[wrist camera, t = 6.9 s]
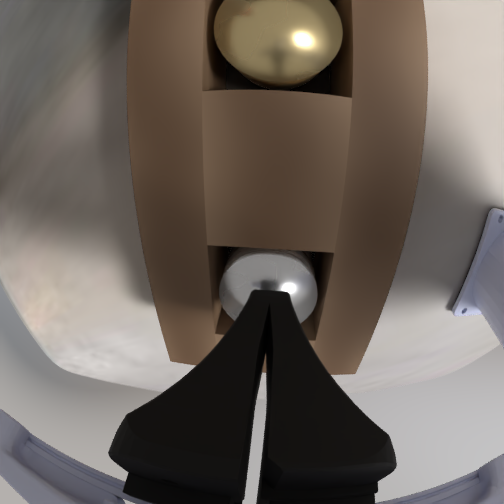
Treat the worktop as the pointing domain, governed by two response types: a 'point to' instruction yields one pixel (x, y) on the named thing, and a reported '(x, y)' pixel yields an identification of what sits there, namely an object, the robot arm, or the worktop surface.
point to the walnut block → (275, 169)
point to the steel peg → (268, 278)
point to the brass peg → (278, 39)
